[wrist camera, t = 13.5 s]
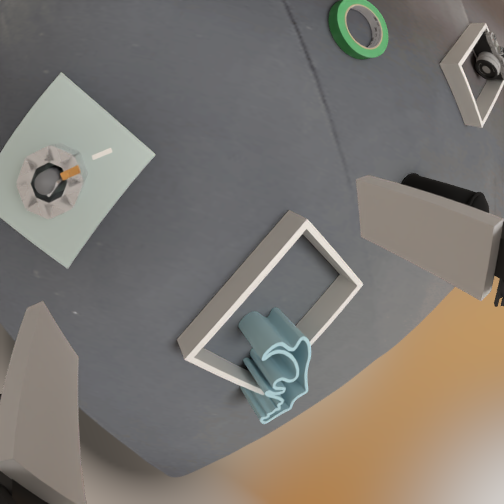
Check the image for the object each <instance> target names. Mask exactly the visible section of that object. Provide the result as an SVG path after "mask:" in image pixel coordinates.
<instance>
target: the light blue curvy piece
mask: <svg viewBox="0 0 504 504" xmlns="http://www.w3.org/2000/svg"><path fill="white" fill-rule="evenodd" d="M238 327H239V329H240V330H241V332H242V333H243V334H244V336H245V337H246V339H247V340H248V341H249V343H250V344H251V346H252V347H253V348H252V349H251V351H250V356H251V357H252V359H253V360H251V359H249V358H244V359H243V362H244V363H245V365H246V367H247V368H248V370H249V371H250V373H251V374H252V376H253V377H254V379H255V380H256V382H257V383H258V385H259V386H260V388H261V389H262V391H263V392H264V395H261V394H259V393H256V392H254V391H252V390H249V389H247V388H245V387H242V386H240V388H241V390H242V392H243V394H244V395H245V397H246V399H247V400H248V402H249V404H250V405H251V407H252V409H253V410H254V412H255V414H256V415H257V417H258V418H259V420H260V422H261V423H262V424H266V423H268V422H270V421H271V420H273V419H274V418H276V417H278V416H279V415H281V414H283V413H284V412H286V411H288V410H290V409H291V408H292V405H293V403H294V401H295V400H296V399H297V398H299V397H301V396H302V395H304V394H306V393H307V392H308V383H307V371H308V366H309V362H310V358H311V345H310V342H309V339H308V338H307V337H306V336H305V335H304V334H303V333H302V332H301V331H300V330H299V329H298V328H297V327H296V326H295V325H294V324H293V323H292V322H291V321H290V320H289V319H288V318H287V317H286V316H285V315H284V314H283V312H282V311H281V310H280V309H279V308H276V307H275V308H273V309H272V310H271V312H270V314H269V316H268V317H264V316H262V315H261V314H260V313H259V312H256V311H254V312H250V313H248V314H247V315H246V316H244V317H243V318H242V320H241V321H240V322H239V326H238Z"/></svg>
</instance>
